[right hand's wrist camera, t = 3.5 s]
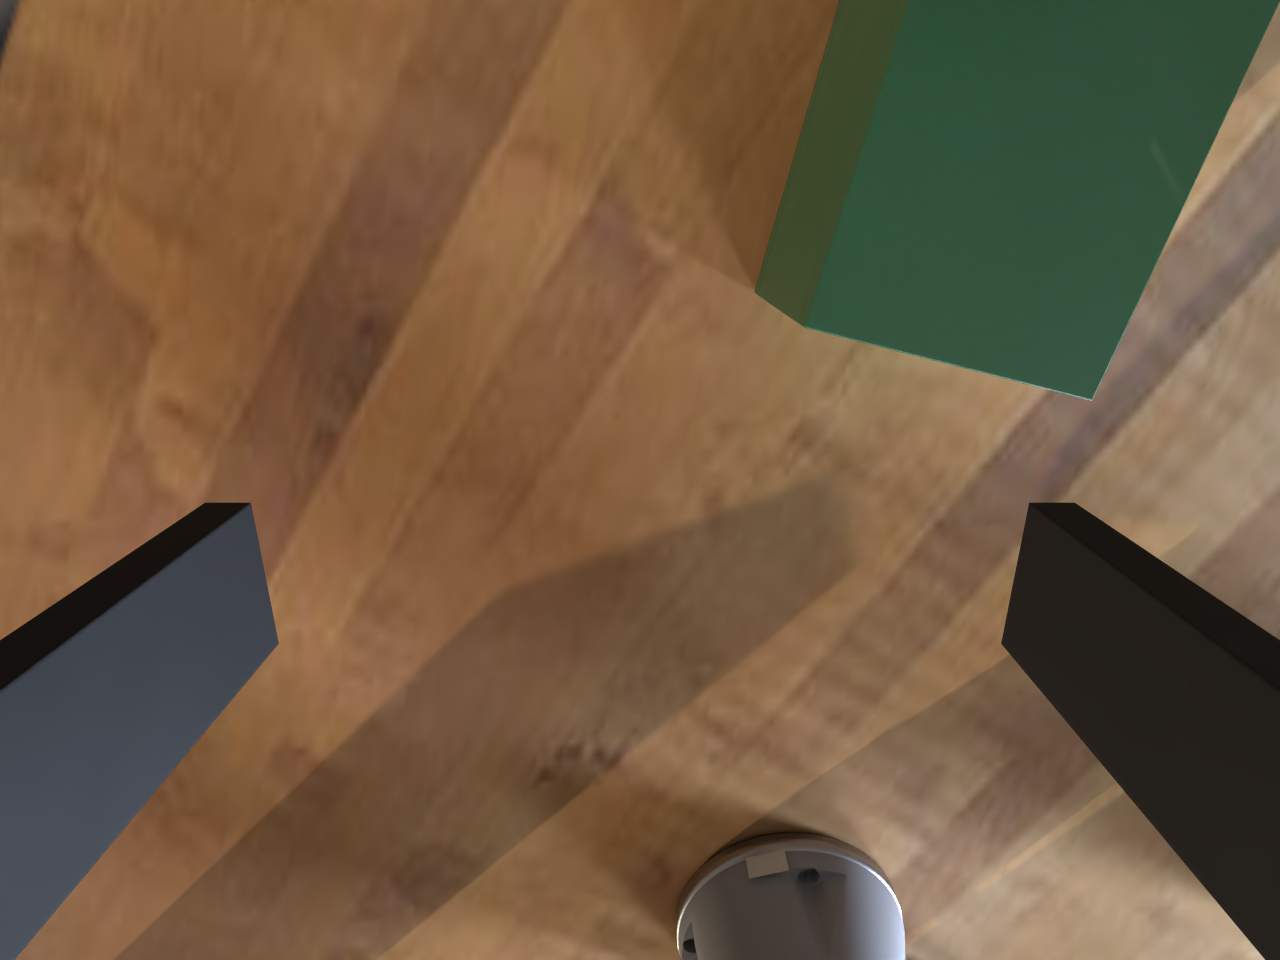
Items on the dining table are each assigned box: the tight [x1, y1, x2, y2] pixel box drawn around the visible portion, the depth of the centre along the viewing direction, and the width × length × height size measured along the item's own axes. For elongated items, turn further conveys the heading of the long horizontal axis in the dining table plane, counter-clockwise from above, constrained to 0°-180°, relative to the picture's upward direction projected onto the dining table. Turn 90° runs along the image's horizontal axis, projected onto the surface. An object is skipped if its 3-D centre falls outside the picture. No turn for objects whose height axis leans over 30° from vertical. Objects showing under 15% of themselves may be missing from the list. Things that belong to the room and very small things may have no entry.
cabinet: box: [755, 0, 1280, 400], centre depth 29 cm, size 17×11×12 cm, turn 166°
